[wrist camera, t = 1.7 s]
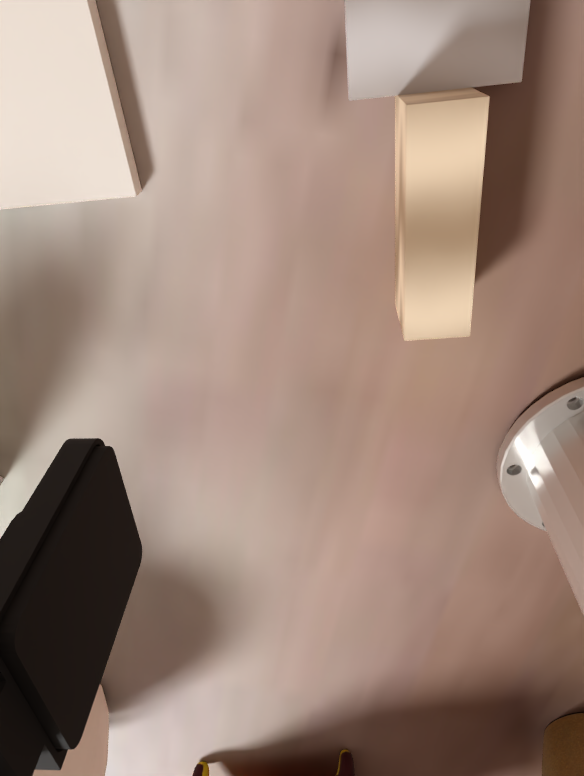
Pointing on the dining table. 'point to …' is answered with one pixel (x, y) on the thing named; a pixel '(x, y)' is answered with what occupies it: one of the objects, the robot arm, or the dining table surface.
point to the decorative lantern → (344, 772)
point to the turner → (435, 137)
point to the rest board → (59, 108)
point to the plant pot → (564, 747)
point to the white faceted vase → (88, 745)
